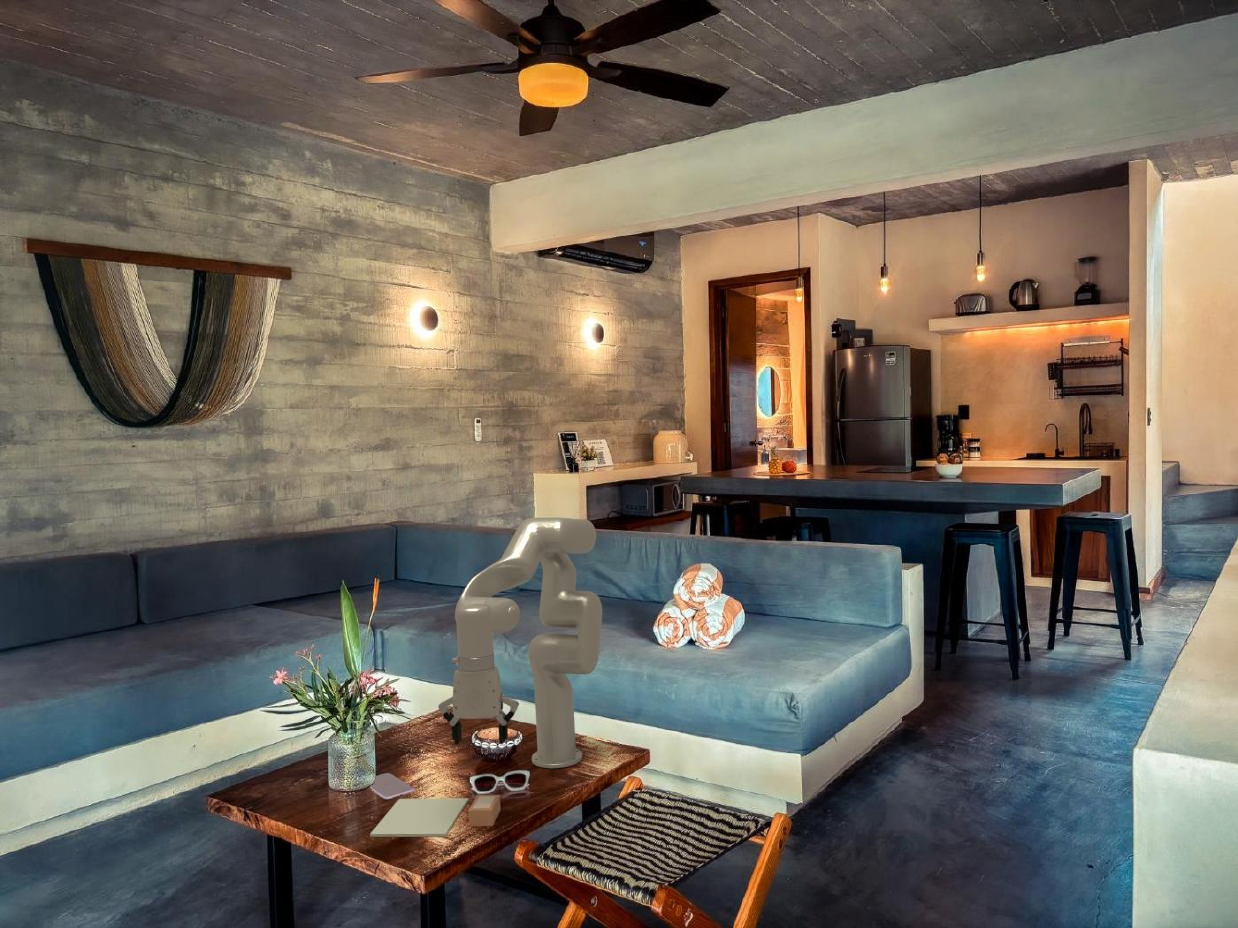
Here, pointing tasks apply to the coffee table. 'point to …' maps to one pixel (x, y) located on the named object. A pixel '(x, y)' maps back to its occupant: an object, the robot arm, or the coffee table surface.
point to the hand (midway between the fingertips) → (480, 742)
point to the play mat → (420, 818)
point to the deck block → (484, 810)
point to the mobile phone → (390, 786)
